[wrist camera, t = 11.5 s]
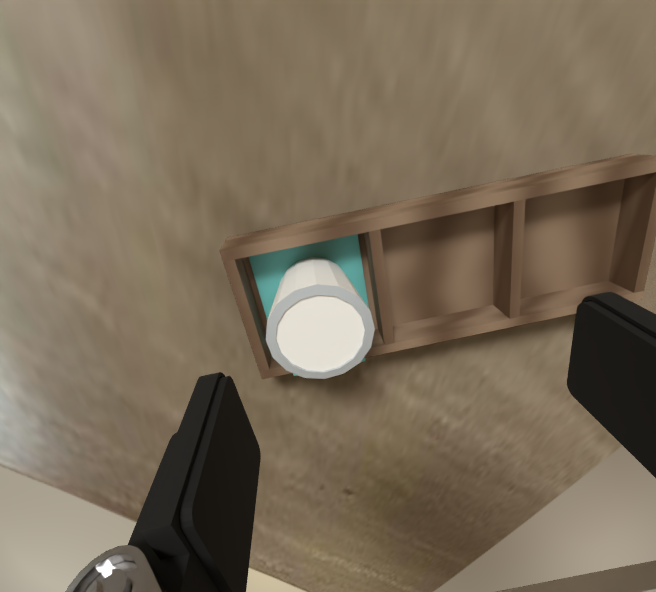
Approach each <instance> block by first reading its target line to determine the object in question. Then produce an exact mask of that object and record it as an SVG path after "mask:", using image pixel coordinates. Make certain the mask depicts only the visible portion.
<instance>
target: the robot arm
mask: <svg viewBox="0 0 656 592" xmlns="http://www.w3.org/2000/svg"><path fill="white" fill-rule="evenodd" d="M567 386H568V389H569V391H570V393H571V394H572V396H573V397H574V398H575V399H576V400H577V401H578V402H579V403H580V404H581V405H582V406H583V407H584V408H585V409H586V410H587V411H588V412H589V413H590V414H591V415H592V416H593V417H594V418H596V419H597V420H598V421H599V422H600V423H601V424H602V425H603V426H604V427H605V428H606V429H607V430H608V431H609V432H610V433H611V434H612V435H613V436H614V437H615V438H616V439H617V440H618V441H619V442H620V443H621V444H622V445H623V446H624V447H625V448H626V449H627V450H628V451H629V452H630V453H631V454H632V455H633V456H634V457H635V458H636V459H637V460H638V461H639V462H640V463H641V464H642V465H643V466H644V467H645V468H646V469H647V470H648V471H649V472H650V473H651V474H652V475H653V476H654V477H655V478H656V314H654V313H652V312H650V311H648V310H646V309H644V308H643V307H641V306H639V305H637V304H635V303H633V302H631V301H629V300H627V299H626V298H624V297H622V296H620V295H618V294H616V293H614V292H605V293H600V294H595V295H590V296H587V297H585V298H584V299H583V300H582V303H580V304H579V305H578V306H577V310H576V318H575V325H574V333H573V340H572V348H571V355H570V363H569V370H568V378H567ZM259 467H260V448H259V445H258V442H257V440H256V437H255V435H254V432H253V430H252V427H251V424H250V422H249V419H248V417H247V414H246V412H245V409H244V407H243V404H242V402H241V399H240V397H239V394H238V392H237V389H236V387H235V384H234V382H233V379H232V378H231V377H230V376H227V377H225V375H224V374H223V373H221V372H219V373H215V374H210V375H205V376H201V377H199V379H198V381H197V383H196V386H195V388H194V391H193V394H192V396H191V399H190V401H189V404H188V407H187V409H186V412H185V414H184V417H183V419H182V422H181V425H180V427H179V430H178V432H177V433H175V434H174V435H173V436H172V438H171V439H170V441H169V444H168V446H167V449H166V451H165V453H164V456H163V458H162V461H161V463H160V466H159V468H158V471H157V473H156V476H155V478H154V481H153V483H152V486H151V488H150V491H149V493H148V496H147V498H146V501H145V503H144V506H143V508H142V511H141V513H140V516H139V518H138V521H137V523H136V526H135V528H134V531H133V533H132V535H131V538H130V540H129V543H128V545H125V546H118V547H115V548H113V549H110V550H108V551H106V552H104V553H103V554H101V555H100V556H98V557H97V558H95V559H94V560H92V561H91V562H90V563H89V564H88V565H87V566H86V567H85V568H84V569H83V570H82V571H80V572H79V574H78V575H77V576H76V578H75V579H74V580H73V581H72V583H71V584H70V585H69V586H68V588H67V590H66V592H246V585H247V577H248V568H249V558H250V549H251V540H252V531H253V522H254V513H255V504H256V495H257V486H258V476H259ZM497 592H656V561H651V562H645V563H641V564H635V565H630V566H625V567H620V568H615V569H609V570H604V571H600V572H594V573H589V574H585V575H579V576H574V577H569V578H564V579H559V580H553V581H548V582H543V583H538V584H533V585H528V586H523V587H518V588H513V589H508V590H503V591H497Z"/></svg>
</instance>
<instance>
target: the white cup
mask: <svg viewBox="0 0 656 592" xmlns="http://www.w3.org/2000/svg"><path fill="white" fill-rule="evenodd" d="M374 331H375V328H374V323H373V319H372V315H371V311H370V310H369V308H368V307H367V305H366V304H365V302H364V301H363V299H362V298H361V296H360V295H359V293H358V292H357V290H356V289H355V287H354V286H353V284H352V283H351V281H350V280H349V278H348V277H347V275H346V274H345V273H344V272H343V270H342V269H341V268H340V267H339V265H337V264H335V263H333V262H331V261H330V260H328V259H325V258H315V257H311V258H307V259H304V260H300V261H297V262H296V263H295V264H294V265H292V266H291V267H290V268H288V269H287V270H286V272H285V274H284V276H283V278H282V279H281V281H280V284H279V287H278V290H277V293H276V296H275V299H274V302H273V305H272V308H271V311H270V314H269V317H268V320H267V329H266V342H267V345H268V347H269V350H270V352H271V355H272V357H273V358H274V359H275V360H276V361H277V362H278V363H279V364H280V365H281V366H282V367H283V368H284V369H285V370H287V371H289V372H291V373H294V374H296V375H299V376H301V377H304V378H317V379H326V378H329V377H333V376H337V375H341V374H344V373H345V372H347V371H348V370H350V369H351V368H353V367H354V366H356V365H357V364H359V363H360V362H361V361H362V359H363V358H364V356H365V355H366V354H367V352H368V351H369V349H370V348H371V345H372V340H373V336H374Z"/></svg>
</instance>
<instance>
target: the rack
mask: <svg viewBox="0 0 656 592" xmlns="http://www.w3.org/2000/svg"><path fill="white" fill-rule="evenodd" d="M655 237H656V156H652V155H637V154H628V155H623V156H618V157H613V158H609V159H604V160H599V161H594V162H589V163H585V164H580V165H575V166H570V167H565V168H560V169H556V170H551V171H546V172H541V173H536V174H532V175H527V176H522V177H517V178H512V179H507V180H503V181H498V182H493V183H488V184H483V185H478V186H474V187H469V188H464V189H459V190H454V191H450V192H445V193H440V194H435V195H430V196H425V197H421V198H416V199H411V200H406V201H401V202H397V203H392V204H387V205H382V206H377V207H372V208H368V209H363V210H358V211H353V212H348V213H344V214H339V215H334V216H329V217H324V218H319V219H315V220H310V221H305V222H300V223H295V224H291V225H286V226H281V227H276V228H271V229H266V230H262V231H257V232H252V233H247V234H242V235H238V236H233V237H228V238H227V240H226V241H225V243H224V244H223V246H222V248H221V249H220V254H221V257H222V260H223V263H224V266H225V269H226V272H227V275H228V278H229V281H230V284H231V287H232V290H233V293H234V296H235V299H236V302H237V305H238V308H239V311H240V314H241V317H242V320H243V323H244V326H245V329H246V332H247V335H248V338H249V341H250V344H251V347H252V350H253V353H254V356H255V360H256V363H257V366H258V369H259V372H260V375H261V378H262V379H266V378H270V377H275V376H280V375H285V374H290V373H291V372H289V371H287V370H285V369H284V368H283V367H282V366H281V365H280V364H279V363H278V362H277V361H276V360H275V359H274V358H273V357H272V355H271V352H270V350H269V347H268V345H267V342H266V329H267V320H268V317H269V314H270V311H271V308H272V305H273V302H274V299H275V296H276V293H277V290H278V287H279V284H280V281H281V279H282V278H283V276H284V274H285V272H286V270H287V269H288V268H290V267H291V266H292V265H294V264H295V263H296V262H297V261H300V260H304V259H307V258H311V257H315V258H325V259H328V260H330V261H331V262H333V263H335V264H337V265H339V267H340V268H341V269H342V270H343V272H344V273H345V274H346V275H347V277H348V278H349V280H350V281H351V283H352V284H353V286H354V287H355V289H356V290H357V292H358V293H359V295H360V296H361V298H362V299H363V301H364V302H365V304H366V305H367V307H368V308H369V310H370V311H371V315H372V319H373V323H374V328H375V331H374V336H373V340H372V345H371V348H370V349H369V351H368V352H367V354H366V355H365V356H364V358H363V359H362V361H361V362H364V361H366V360H365V358H366V357H371V356H376V355H380V354H385V353H390V352H395V351H399V350H404V349H409V348H414V347H419V346H423V345H428V344H433V343H438V342H442V341H447V340H452V339H457V338H462V337H466V336H471V335H476V334H481V333H485V332H490V331H495V330H500V329H505V328H509V327H514V326H519V325H524V324H529V323H533V322H538V321H543V320H548V319H552V318H557V317H562V316H567V315H572V314H576V310H577V306H578V305H579V304H580V303H582V300H583V299H584V298H585V297H587V296H590V295H595V294H600V293H605V292H614V293H616V294H618V295H620V296H622V297H624V298H626V299H627V300H629V301H631V302H634V301H638V300H642V297H643V292H644V288H645V283H646V279H647V274H648V269H649V265H650V260H651V256H652V251H653V246H654V242H655ZM293 375H294V376H298V375H296V374H294V373H293Z"/></svg>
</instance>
